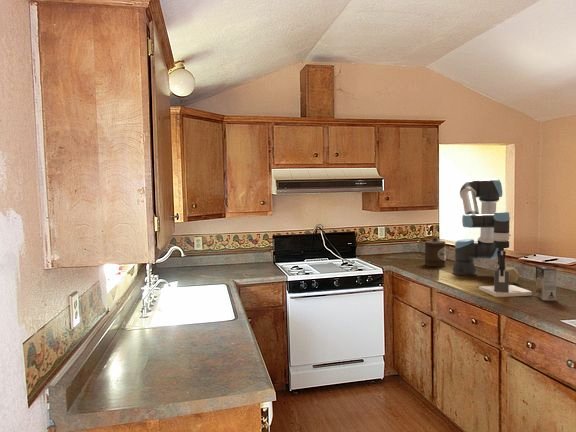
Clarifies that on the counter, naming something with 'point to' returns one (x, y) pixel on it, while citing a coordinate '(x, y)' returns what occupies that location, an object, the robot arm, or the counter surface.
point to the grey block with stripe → (501, 285)
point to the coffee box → (546, 282)
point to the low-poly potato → (512, 275)
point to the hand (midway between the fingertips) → (501, 279)
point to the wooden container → (435, 253)
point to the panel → (512, 292)
